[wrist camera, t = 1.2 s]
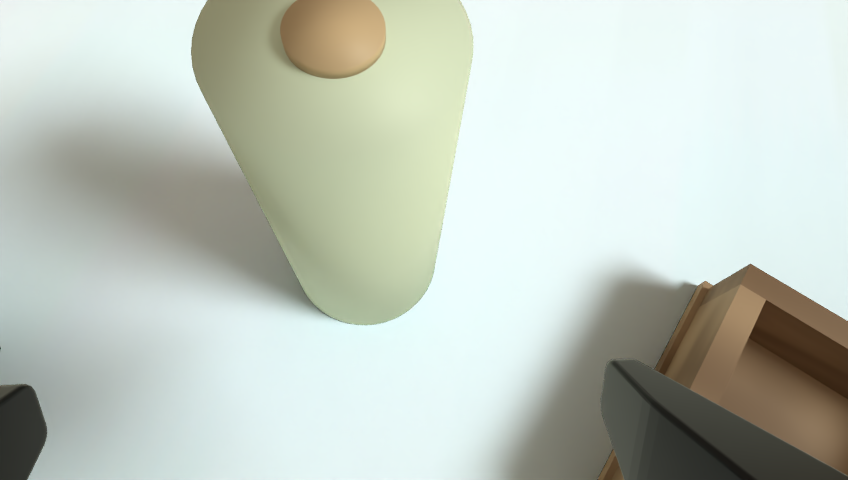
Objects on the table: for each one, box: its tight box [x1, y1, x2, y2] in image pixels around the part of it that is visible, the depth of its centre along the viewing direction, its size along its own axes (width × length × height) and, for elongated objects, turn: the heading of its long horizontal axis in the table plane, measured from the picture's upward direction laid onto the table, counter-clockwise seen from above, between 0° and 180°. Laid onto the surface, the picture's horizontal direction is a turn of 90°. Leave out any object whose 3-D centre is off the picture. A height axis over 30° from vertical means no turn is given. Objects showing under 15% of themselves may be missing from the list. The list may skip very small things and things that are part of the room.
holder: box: [597, 264, 848, 480], centre depth 19 cm, size 11×11×4 cm
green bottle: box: [191, 0, 473, 325], centre depth 18 cm, size 6×6×13 cm
